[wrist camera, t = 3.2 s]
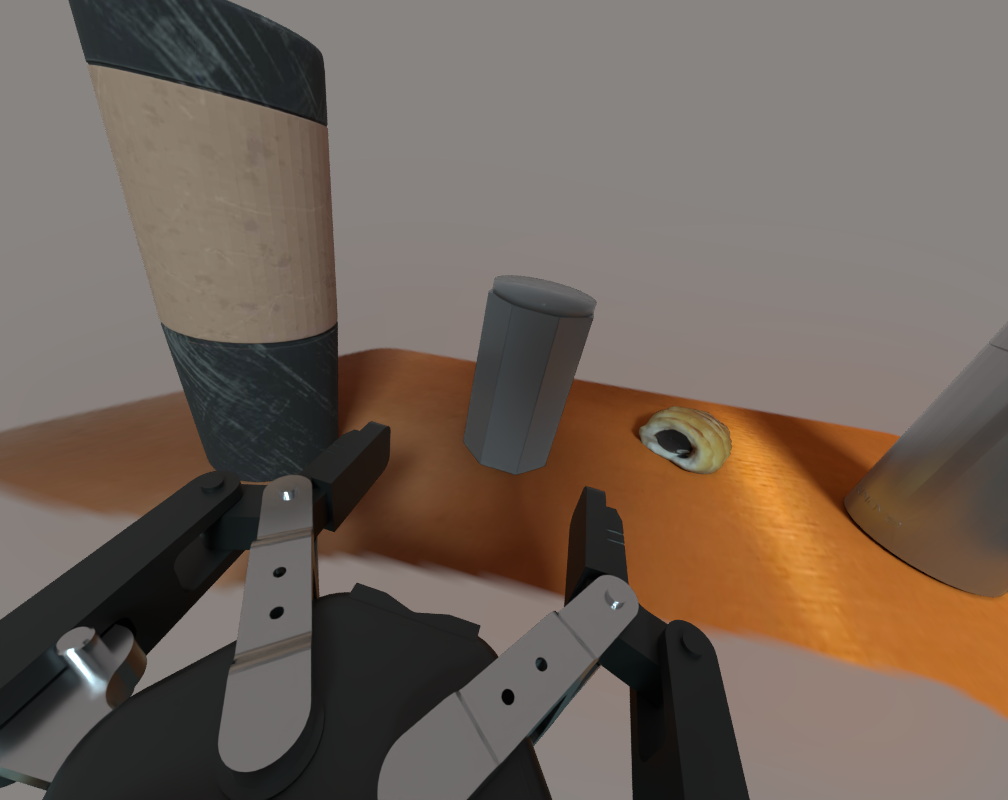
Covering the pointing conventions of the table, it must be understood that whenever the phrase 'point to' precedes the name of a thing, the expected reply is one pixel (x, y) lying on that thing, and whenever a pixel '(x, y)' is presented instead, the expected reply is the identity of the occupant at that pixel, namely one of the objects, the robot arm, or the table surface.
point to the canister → (525, 370)
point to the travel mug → (228, 215)
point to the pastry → (688, 439)
